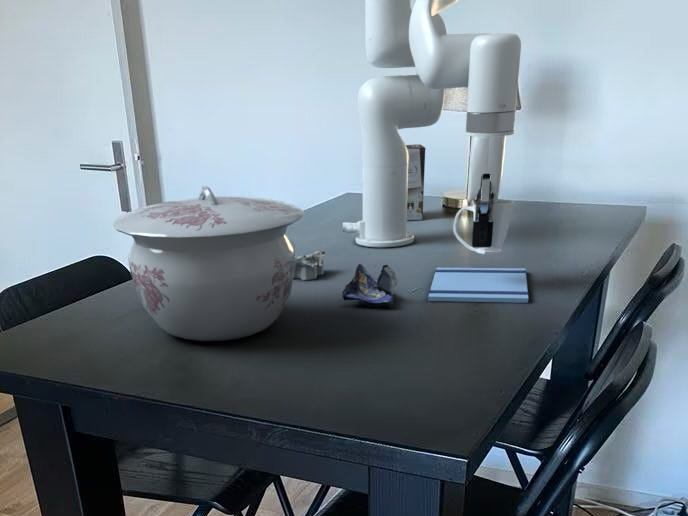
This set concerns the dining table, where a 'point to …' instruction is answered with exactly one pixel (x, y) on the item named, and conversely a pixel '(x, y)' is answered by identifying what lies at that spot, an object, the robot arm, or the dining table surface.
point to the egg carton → (309, 265)
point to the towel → (479, 285)
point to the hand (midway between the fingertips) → (482, 241)
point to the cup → (500, 225)
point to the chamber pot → (212, 263)
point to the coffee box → (415, 181)
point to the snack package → (372, 287)
